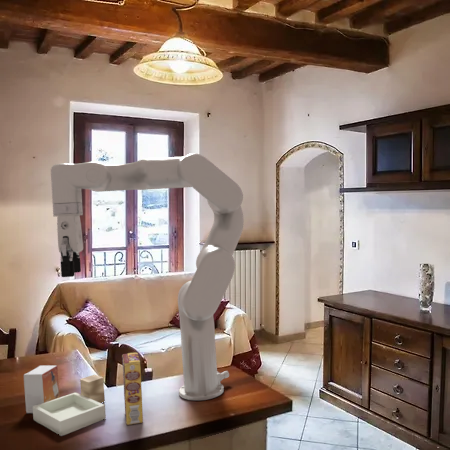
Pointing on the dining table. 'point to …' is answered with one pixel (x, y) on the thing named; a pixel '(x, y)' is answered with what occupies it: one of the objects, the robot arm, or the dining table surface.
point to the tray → (69, 413)
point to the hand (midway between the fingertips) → (71, 274)
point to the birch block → (93, 388)
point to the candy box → (132, 388)
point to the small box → (40, 386)
